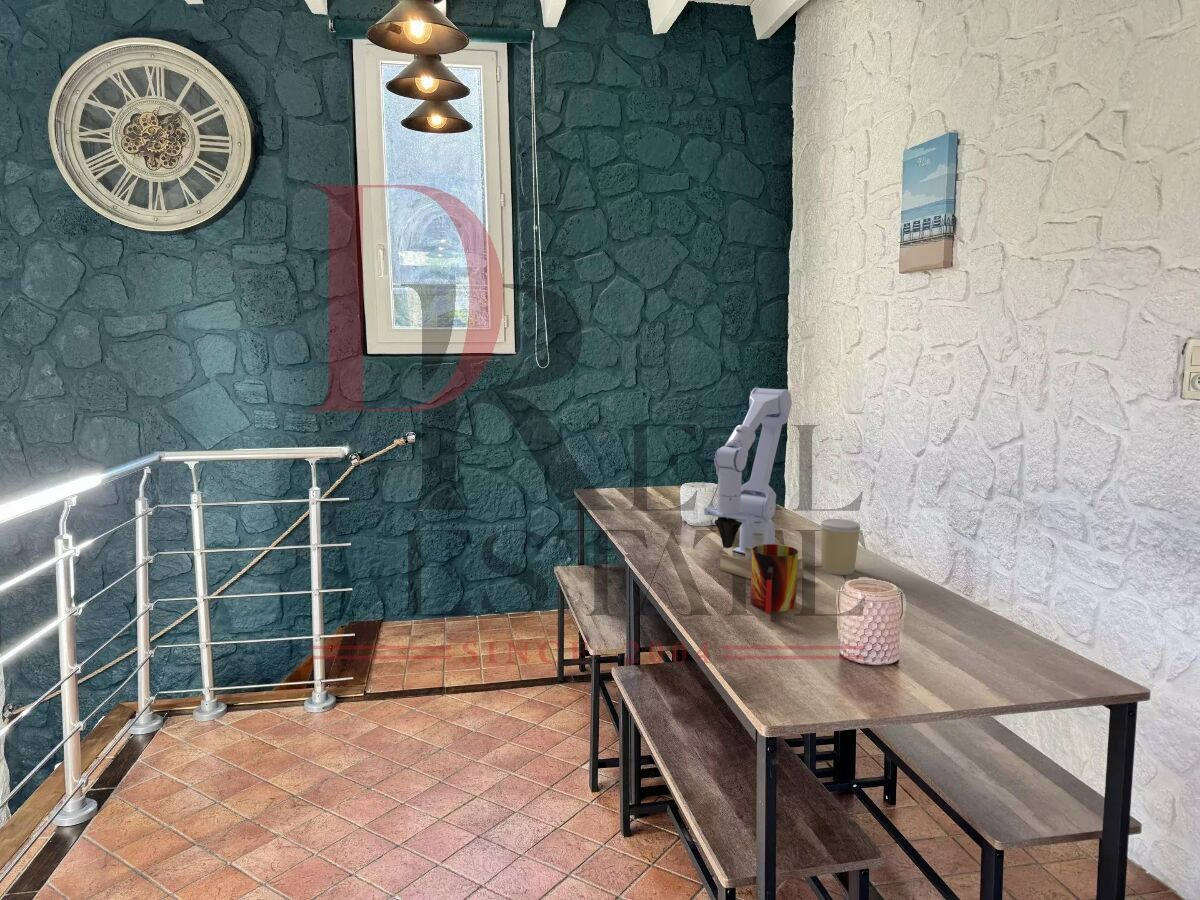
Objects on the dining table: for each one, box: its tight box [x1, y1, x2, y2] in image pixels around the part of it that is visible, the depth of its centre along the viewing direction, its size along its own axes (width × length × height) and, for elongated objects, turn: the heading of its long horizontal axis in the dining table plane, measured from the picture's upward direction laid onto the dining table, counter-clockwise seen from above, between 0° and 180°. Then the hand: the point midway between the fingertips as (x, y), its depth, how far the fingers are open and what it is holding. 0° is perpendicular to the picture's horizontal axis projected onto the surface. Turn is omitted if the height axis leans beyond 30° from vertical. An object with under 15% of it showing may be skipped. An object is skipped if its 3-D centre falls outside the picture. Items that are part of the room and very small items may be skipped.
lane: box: [719, 547, 805, 581], centre depth 195 cm, size 11×17×5 cm, turn 41°
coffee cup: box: [820, 518, 861, 576], centre depth 198 cm, size 9×9×12 cm
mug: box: [750, 543, 799, 615], centre depth 172 cm, size 10×14×12 cm
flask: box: [747, 532, 765, 562], centre depth 195 cm, size 7×7×10 cm
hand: (727, 547), depth 203 cm, fingers closed
